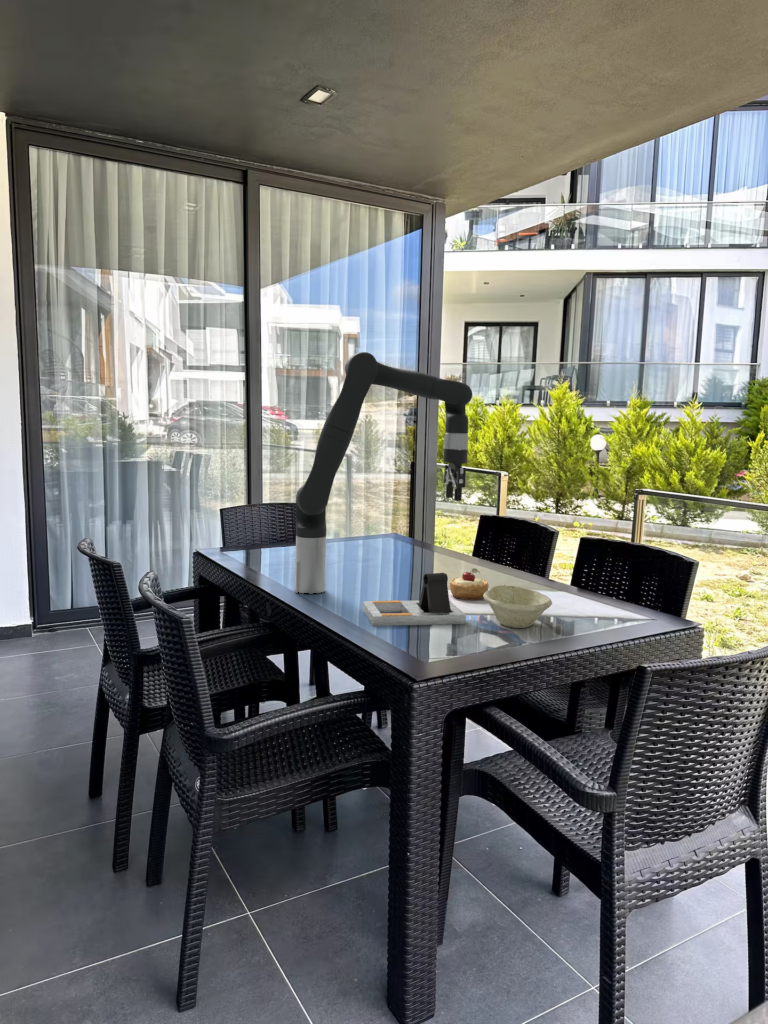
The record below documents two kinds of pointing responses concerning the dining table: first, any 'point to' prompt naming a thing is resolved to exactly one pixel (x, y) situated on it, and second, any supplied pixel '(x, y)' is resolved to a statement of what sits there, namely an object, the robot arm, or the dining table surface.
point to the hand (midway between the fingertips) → (453, 499)
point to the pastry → (468, 587)
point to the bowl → (516, 605)
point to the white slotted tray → (409, 614)
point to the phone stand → (435, 594)
